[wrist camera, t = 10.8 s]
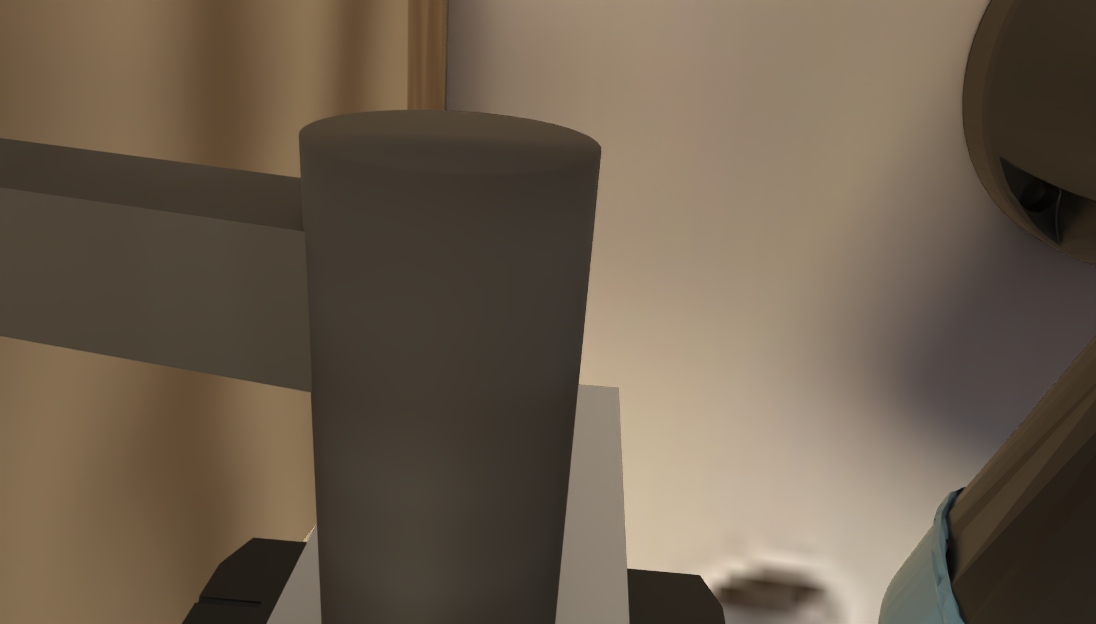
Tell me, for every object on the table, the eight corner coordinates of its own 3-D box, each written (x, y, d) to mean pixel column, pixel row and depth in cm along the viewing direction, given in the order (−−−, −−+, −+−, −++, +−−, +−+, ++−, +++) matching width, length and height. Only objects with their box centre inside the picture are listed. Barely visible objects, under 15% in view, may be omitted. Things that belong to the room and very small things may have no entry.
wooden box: (449, -42, 32) (387, -42, 23) (441, 292, 38) (390, 400, 28) (-55, -82, 33) (-312, -98, 24) (10, 254, 38) (-177, 347, 29)
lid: (387, -51, 23) (717, -24, 21) (389, 405, 28) (649, 452, 27) (-1197, -144, 4) (498, 5, 3) (-285, 1221, 10) (429, 1527, 8)
